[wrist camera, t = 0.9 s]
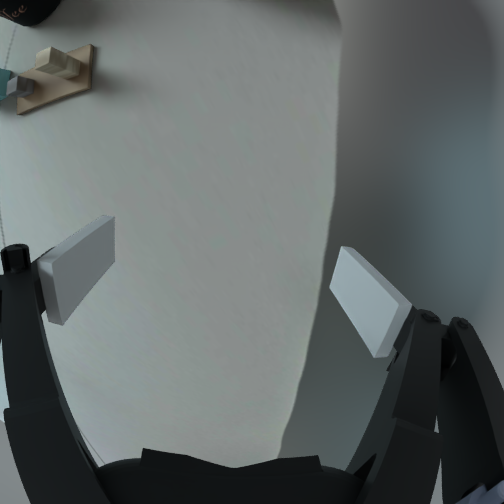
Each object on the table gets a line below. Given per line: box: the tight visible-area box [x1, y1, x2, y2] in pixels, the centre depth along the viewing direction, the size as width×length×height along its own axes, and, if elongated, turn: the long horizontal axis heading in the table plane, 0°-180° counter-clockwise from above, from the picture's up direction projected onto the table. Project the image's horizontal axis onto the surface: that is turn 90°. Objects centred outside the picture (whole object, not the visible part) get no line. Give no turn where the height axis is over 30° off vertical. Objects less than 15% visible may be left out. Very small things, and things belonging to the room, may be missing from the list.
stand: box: [6, 44, 94, 115], centre depth 25 cm, size 8×16×10 cm, turn 92°
